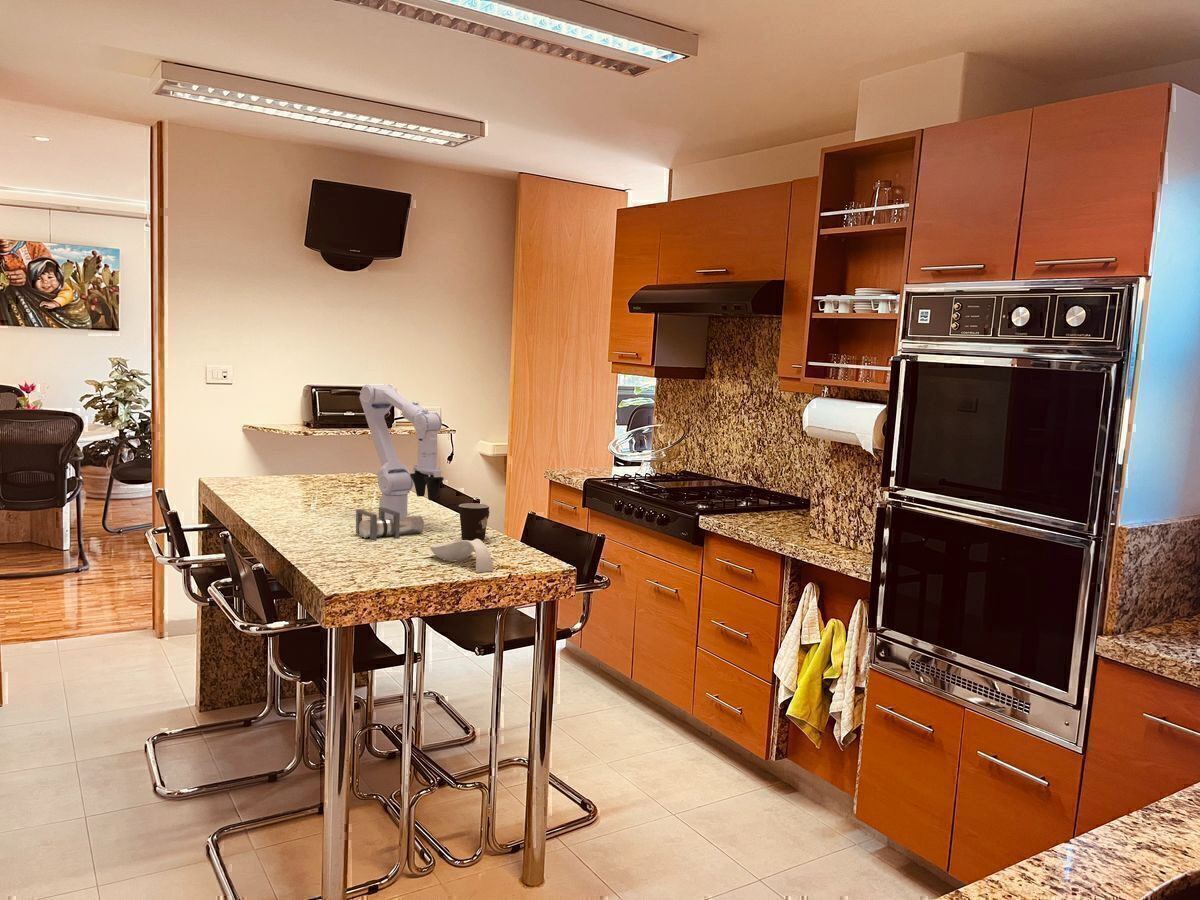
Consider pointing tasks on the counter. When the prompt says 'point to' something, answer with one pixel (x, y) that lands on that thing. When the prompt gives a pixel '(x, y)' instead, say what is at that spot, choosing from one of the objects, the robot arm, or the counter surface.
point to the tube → (386, 526)
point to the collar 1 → (372, 522)
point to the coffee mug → (473, 520)
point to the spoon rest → (465, 553)
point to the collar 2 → (395, 519)
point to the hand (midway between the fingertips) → (426, 498)
